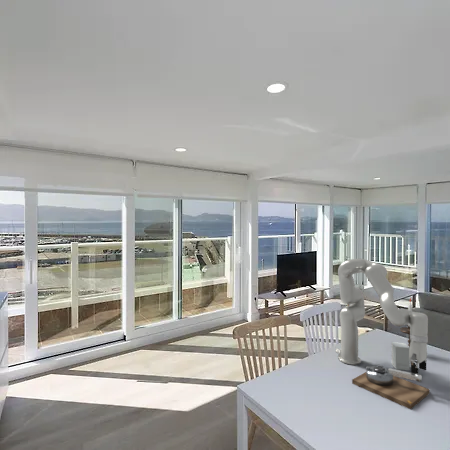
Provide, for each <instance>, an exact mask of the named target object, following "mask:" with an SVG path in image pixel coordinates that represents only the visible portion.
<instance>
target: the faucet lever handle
mask: <svg viewBox="0 0 450 450" xmlns="http://www.w3.org/2000/svg"><path fill="white" fill-rule="evenodd" d="M365 368H366V369H365V370H366V371H365V372H366V378H367V380H369V381H370V382H372V383H374V384H377V385H381V386H390V385H392V384H393V376H396V377H398V378H401V379H405V380H412V381H416V382H420V383H421V382H422V378H423V377H422V374H420V373H418V374H414V373H411V372H409V371H406V370H397V369H395V368H390V367H389V368H386V367H384V365H382V364H377V365H376V366H375V365H374V366H373V365H371V366H370V365H369V366H366V367H365Z"/></svg>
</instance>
